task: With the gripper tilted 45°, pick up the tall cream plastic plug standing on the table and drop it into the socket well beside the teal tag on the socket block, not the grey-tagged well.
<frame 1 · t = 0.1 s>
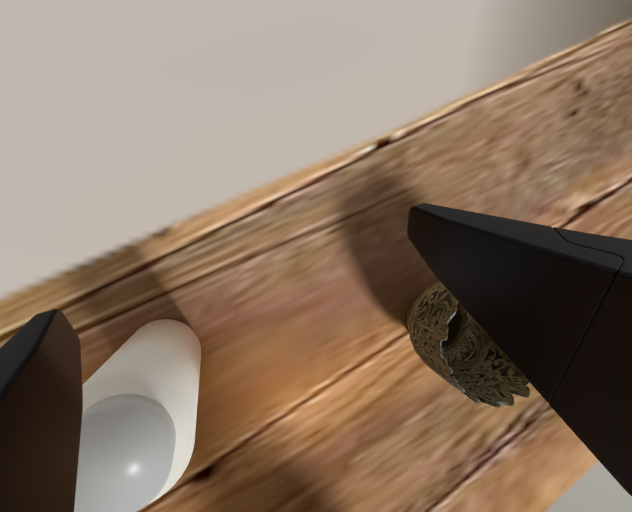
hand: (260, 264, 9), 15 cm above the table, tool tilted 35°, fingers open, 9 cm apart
cup: (422, 317, 28), on the table
plug: (164, 354, 22), on the table
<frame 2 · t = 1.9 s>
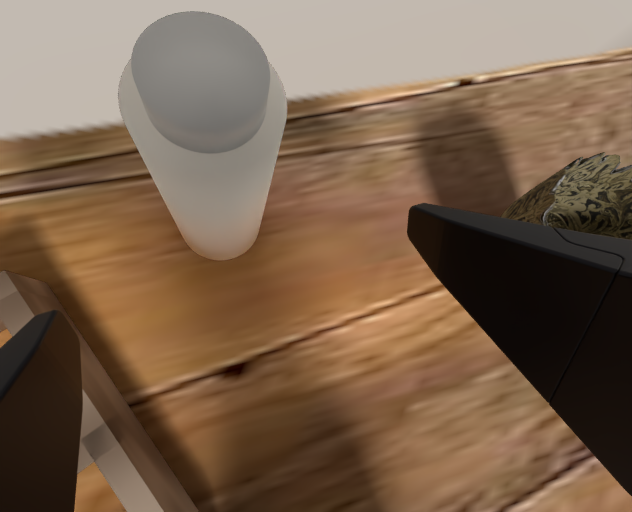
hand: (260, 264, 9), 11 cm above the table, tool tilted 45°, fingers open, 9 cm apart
cup: (500, 260, 24), on the table
socket block: (47, 477, 16), on the table
plug: (220, 222, 21), on the table
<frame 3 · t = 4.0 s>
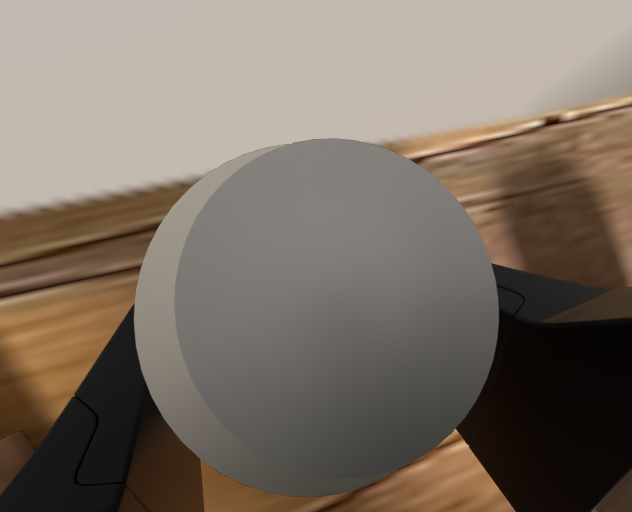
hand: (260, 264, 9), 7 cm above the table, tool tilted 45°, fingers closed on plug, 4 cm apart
plug: (259, 324, 15), on the table, touching gripper
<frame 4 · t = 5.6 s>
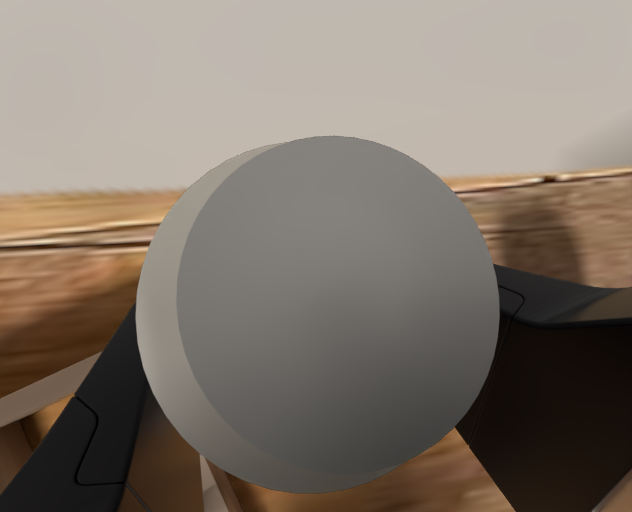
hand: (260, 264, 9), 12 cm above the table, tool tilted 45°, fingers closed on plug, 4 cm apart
plug: (259, 323, 15), point 6 cm above the table, touching gripper
when the fingers open (9 cm above the table, at t = 7.5 s): plug drops 2 cm, resting in socket block.
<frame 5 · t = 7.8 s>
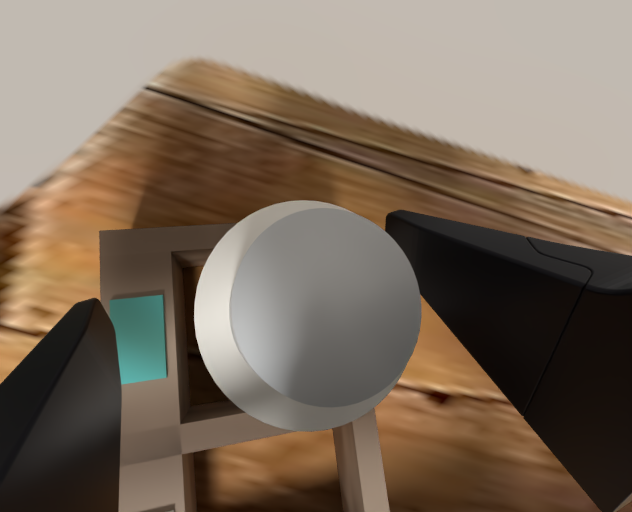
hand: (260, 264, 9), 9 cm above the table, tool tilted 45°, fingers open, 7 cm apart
socket block: (262, 405, 17), on the table
plug: (254, 327, 18), resting in socket block
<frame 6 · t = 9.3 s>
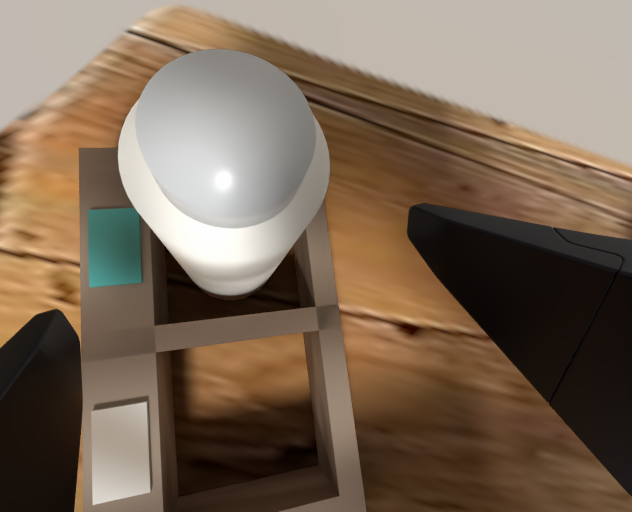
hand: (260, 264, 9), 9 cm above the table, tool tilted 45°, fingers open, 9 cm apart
socket block: (238, 328, 18), on the table
plug: (231, 257, 19), resting in socket block
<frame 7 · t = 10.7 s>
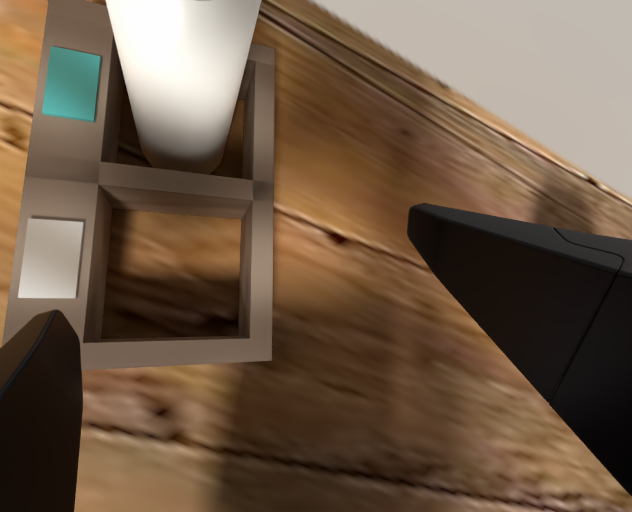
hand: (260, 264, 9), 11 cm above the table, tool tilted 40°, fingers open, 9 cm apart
socket block: (181, 205, 19), on the table
plug: (183, 141, 20), resting in socket block
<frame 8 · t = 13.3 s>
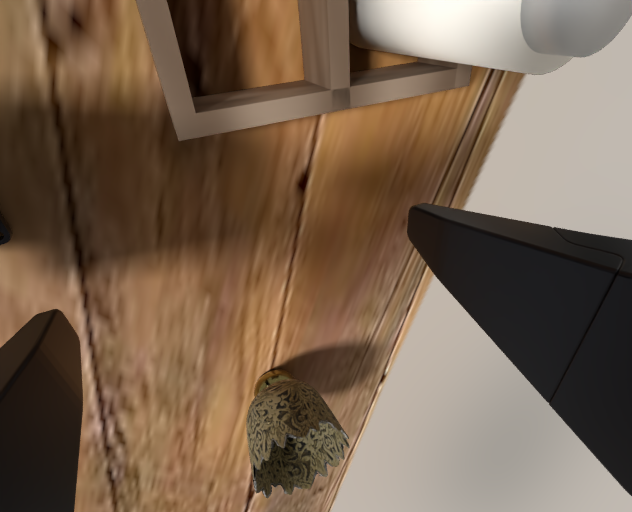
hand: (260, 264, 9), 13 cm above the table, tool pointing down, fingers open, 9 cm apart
cup: (271, 378, 32), on the table
socket block: (307, 8, 18), on the table
plug: (371, 1, 19), resting in socket block
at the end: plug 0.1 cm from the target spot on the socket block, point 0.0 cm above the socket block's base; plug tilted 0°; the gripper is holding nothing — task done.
